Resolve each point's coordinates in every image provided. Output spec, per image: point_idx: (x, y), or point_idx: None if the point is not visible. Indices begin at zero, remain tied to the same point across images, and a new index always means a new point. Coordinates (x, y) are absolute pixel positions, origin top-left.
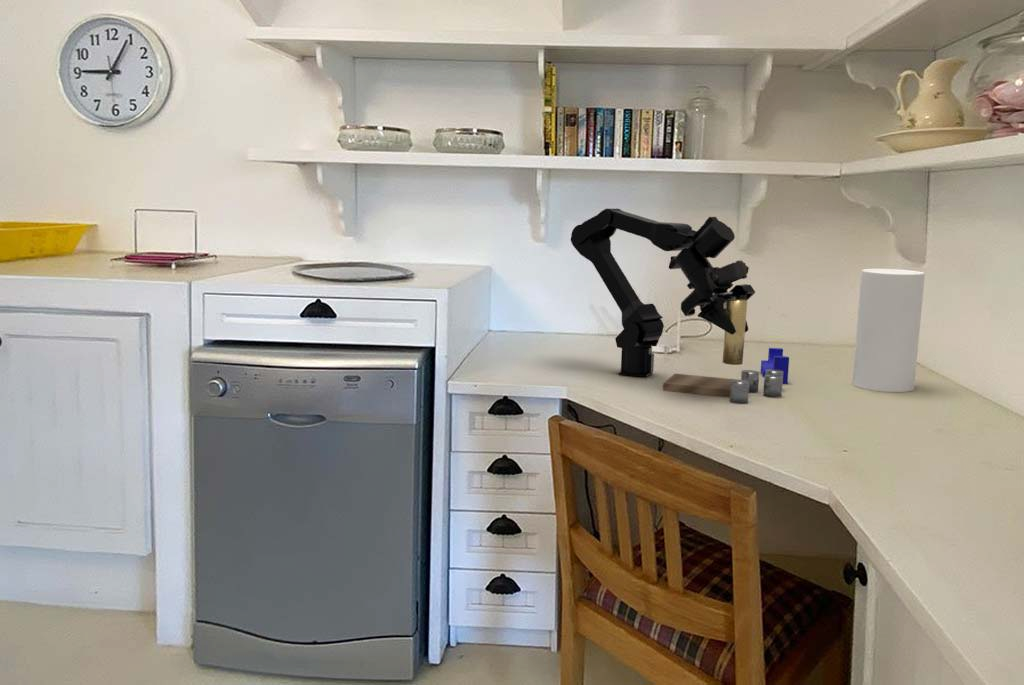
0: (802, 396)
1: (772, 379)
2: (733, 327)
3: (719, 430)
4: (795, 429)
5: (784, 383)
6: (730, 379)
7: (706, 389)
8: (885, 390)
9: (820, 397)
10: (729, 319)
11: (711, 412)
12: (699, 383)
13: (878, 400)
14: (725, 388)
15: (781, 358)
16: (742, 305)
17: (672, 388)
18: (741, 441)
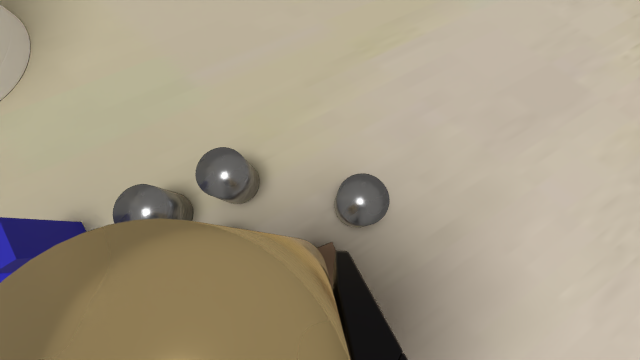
0: (197, 131)
1: (246, 163)
2: (347, 269)
3: (596, 105)
4: (467, 22)
5: (83, 228)
6: None
7: None
8: (25, 31)
9: (179, 101)
10: (356, 324)
11: (496, 192)
12: None
13: (124, 15)
14: (329, 263)
15: (12, 239)
16: (265, 239)
17: None
18: (617, 44)
